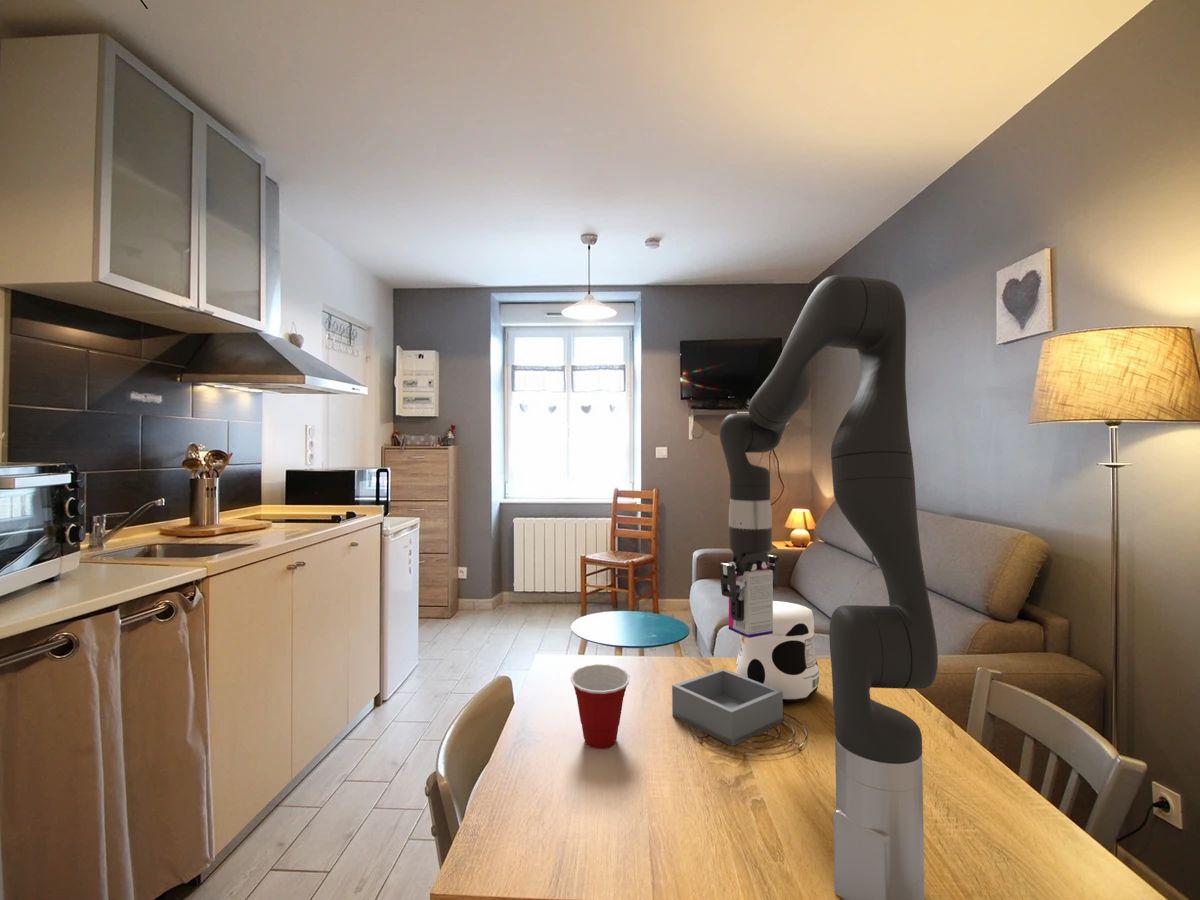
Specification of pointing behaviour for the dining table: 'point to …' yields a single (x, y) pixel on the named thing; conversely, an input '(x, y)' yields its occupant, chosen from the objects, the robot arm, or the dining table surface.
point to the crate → (727, 705)
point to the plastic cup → (600, 702)
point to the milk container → (783, 653)
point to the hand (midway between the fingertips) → (750, 616)
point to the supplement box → (755, 604)
